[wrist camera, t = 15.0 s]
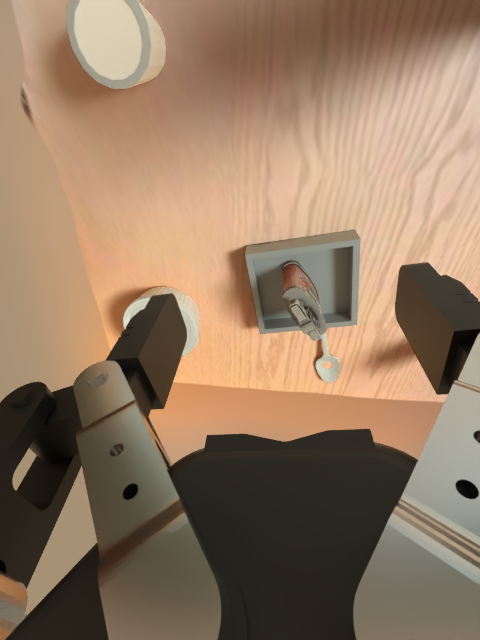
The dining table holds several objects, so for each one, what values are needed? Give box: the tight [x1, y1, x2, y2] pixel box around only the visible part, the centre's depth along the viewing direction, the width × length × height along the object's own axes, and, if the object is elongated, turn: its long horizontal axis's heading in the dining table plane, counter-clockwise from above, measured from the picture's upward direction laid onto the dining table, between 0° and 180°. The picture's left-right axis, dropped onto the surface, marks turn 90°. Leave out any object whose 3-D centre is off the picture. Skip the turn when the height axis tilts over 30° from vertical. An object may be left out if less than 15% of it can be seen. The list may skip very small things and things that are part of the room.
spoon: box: [315, 332, 340, 383], centre depth 50 cm, size 4×21×2 cm, turn 15°
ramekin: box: [123, 287, 199, 357], centre depth 48 cm, size 11×11×5 cm
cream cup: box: [67, 0, 166, 89], centre depth 28 cm, size 7×7×7 cm
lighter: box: [281, 260, 327, 341], centre depth 40 cm, size 8×3×10 cm, turn 35°
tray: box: [245, 230, 360, 334], centre depth 43 cm, size 14×13×3 cm
